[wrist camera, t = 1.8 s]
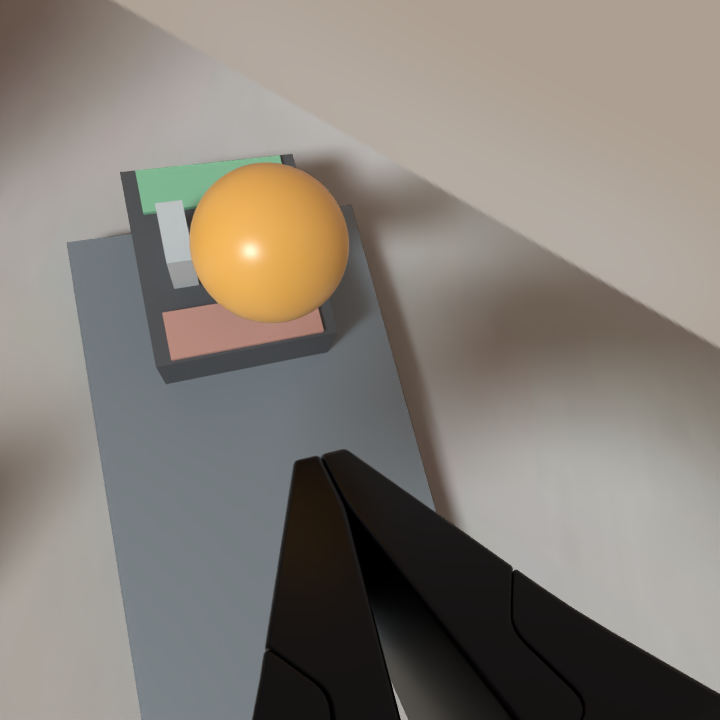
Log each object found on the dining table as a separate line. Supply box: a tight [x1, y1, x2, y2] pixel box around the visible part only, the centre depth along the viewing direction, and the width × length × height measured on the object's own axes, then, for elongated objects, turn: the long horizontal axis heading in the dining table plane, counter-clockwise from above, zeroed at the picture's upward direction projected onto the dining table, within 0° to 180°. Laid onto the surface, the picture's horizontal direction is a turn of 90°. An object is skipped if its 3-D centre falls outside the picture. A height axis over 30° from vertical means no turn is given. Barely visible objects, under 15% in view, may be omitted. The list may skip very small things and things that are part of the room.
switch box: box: [67, 154, 436, 720], centre depth 19 cm, size 18×11×6 cm, turn 15°
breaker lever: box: [189, 162, 349, 323], centre depth 13 cm, size 3×3×11 cm
